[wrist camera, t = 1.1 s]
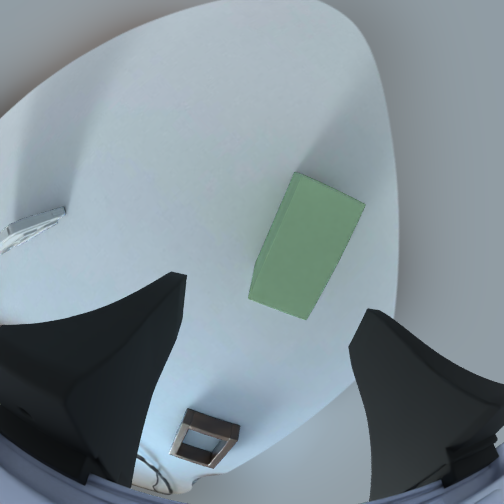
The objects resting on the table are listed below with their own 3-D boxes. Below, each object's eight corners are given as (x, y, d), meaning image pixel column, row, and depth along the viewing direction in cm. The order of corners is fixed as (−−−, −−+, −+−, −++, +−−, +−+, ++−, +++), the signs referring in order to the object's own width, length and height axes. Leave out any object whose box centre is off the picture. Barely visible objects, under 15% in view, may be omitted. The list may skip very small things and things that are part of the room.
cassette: (17, 248, 24) (-25, 269, 17) (12, 235, 24) (-30, 254, 17) (69, 218, 22) (14, 239, 15) (63, 201, 22) (8, 218, 15)
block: (341, 193, 20) (366, 204, 14) (299, 282, 22) (306, 320, 17) (294, 171, 20) (302, 174, 14) (254, 264, 22) (247, 299, 17)
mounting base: (240, 425, 29) (238, 440, 27) (216, 456, 33) (213, 468, 30) (187, 407, 29) (182, 422, 26) (172, 442, 32) (168, 454, 30)
